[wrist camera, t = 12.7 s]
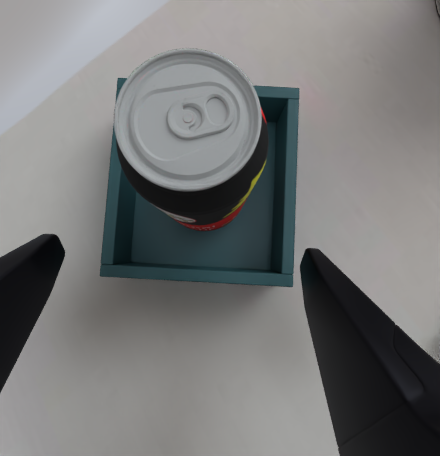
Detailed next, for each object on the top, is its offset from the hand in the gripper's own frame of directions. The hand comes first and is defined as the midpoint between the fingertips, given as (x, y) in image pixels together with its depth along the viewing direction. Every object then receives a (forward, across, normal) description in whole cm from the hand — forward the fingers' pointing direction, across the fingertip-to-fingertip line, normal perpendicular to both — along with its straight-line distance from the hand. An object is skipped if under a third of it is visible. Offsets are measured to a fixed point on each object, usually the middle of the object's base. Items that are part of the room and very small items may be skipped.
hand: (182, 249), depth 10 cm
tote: (+12, 0, +5) cm, 13 cm away
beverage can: (+11, 0, +5) cm, 12 cm away
